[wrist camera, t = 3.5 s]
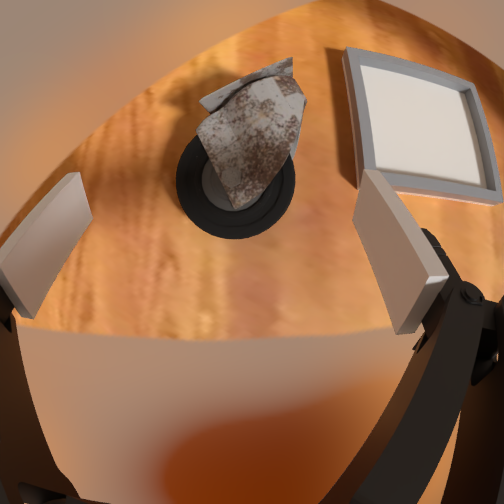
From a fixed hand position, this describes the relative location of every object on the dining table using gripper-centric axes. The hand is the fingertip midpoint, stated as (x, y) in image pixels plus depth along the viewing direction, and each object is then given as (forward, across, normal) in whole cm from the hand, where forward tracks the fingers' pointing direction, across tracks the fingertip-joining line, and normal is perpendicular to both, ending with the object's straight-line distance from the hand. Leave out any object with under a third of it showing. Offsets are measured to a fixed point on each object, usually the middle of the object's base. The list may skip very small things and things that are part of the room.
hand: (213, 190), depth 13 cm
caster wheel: (+10, +2, -4) cm, 11 cm away
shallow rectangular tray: (+14, +18, 0) cm, 23 cm away
